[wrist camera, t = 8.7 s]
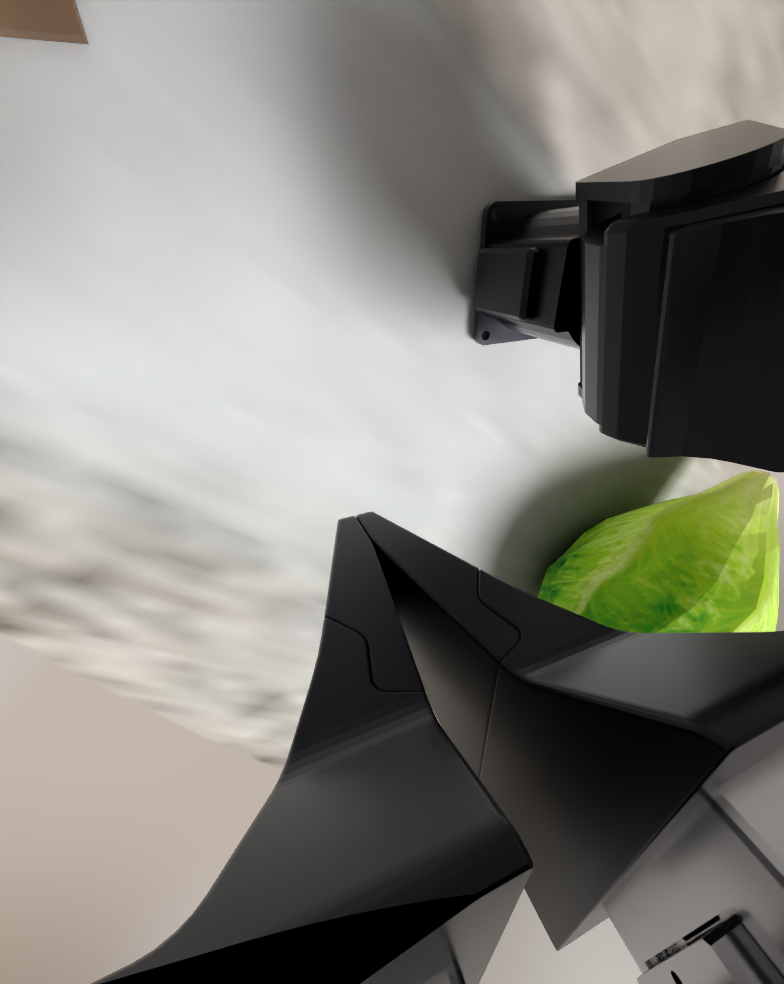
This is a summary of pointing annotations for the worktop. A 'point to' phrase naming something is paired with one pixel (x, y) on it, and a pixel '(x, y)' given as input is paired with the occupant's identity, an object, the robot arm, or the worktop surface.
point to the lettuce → (679, 563)
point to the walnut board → (42, 20)
